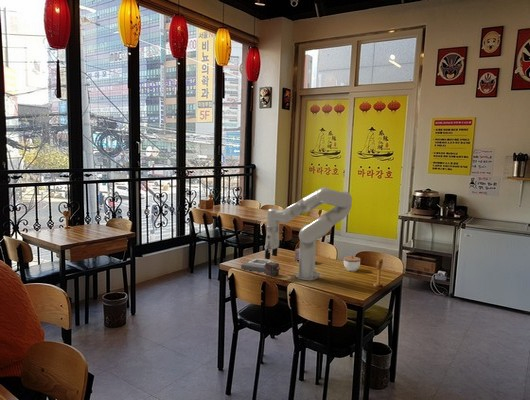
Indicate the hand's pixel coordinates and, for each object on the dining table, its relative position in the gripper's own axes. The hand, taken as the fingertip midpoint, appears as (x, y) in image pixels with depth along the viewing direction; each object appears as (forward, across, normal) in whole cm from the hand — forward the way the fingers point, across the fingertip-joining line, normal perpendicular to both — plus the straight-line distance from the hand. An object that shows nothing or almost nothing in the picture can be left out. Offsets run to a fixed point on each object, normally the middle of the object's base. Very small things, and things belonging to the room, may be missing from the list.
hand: (271, 257), depth 243 cm
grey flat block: (+11, +9, +12) cm, 19 cm away
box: (+11, 0, -1) cm, 11 cm away
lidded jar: (+9, +37, -40) cm, 56 cm away
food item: (+11, +41, -6) cm, 43 cm away
